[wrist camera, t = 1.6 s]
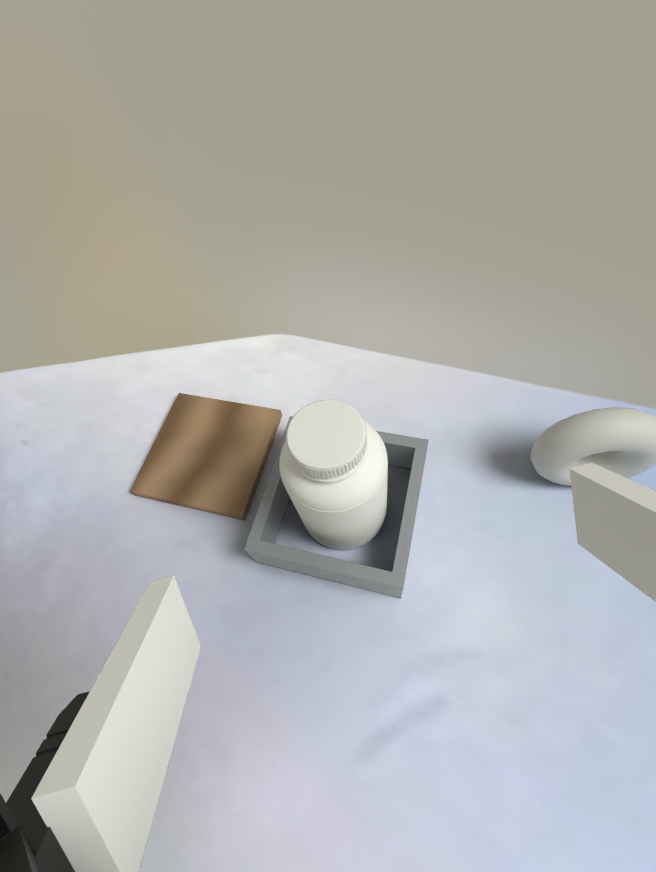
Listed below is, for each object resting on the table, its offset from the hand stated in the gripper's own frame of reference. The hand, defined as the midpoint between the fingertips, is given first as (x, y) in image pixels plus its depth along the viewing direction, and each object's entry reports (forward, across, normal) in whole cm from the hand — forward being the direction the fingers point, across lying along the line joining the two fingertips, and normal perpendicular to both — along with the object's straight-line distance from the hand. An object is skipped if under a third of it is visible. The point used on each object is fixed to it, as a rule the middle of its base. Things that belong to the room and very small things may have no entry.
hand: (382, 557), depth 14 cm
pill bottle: (+26, 0, -10) cm, 28 cm away
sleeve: (+26, 0, -10) cm, 27 cm away
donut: (+24, +21, -12) cm, 34 cm away
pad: (+32, -12, -3) cm, 35 cm away
